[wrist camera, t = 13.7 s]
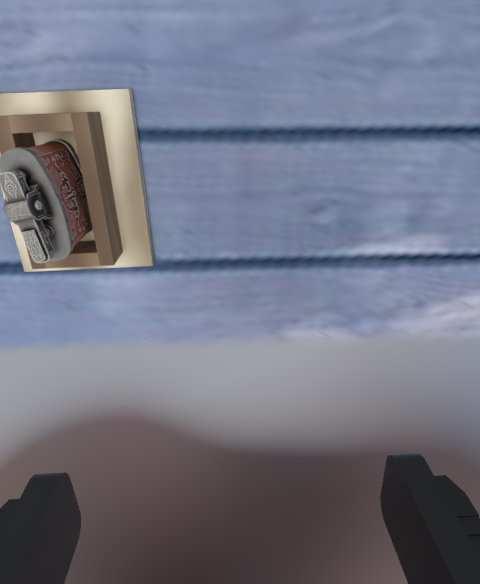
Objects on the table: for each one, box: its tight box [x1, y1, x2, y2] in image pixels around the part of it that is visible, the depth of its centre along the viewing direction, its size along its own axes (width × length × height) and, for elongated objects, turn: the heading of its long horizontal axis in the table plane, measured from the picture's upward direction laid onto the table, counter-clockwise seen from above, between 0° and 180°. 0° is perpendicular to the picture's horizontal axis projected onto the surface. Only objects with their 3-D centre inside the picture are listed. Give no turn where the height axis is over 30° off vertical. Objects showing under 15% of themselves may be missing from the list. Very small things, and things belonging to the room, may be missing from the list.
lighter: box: [0, 139, 93, 263], centre depth 31 cm, size 8×3×10 cm, turn 11°
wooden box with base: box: [0, 89, 155, 272], centre depth 34 cm, size 12×15×5 cm
